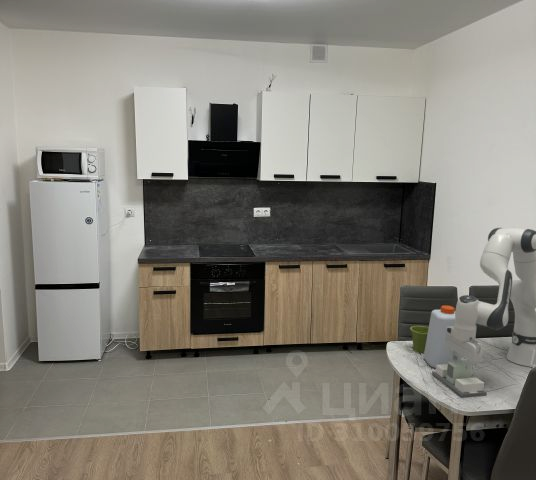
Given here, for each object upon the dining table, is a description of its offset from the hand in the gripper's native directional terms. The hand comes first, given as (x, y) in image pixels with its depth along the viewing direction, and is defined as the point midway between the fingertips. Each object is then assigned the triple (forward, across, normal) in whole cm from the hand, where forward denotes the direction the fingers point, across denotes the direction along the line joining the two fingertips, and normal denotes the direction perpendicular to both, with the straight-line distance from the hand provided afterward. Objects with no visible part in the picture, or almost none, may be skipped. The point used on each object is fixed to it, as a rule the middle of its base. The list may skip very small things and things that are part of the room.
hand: (461, 364), depth 203 cm
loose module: (+8, 0, 0) cm, 8 cm away
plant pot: (+10, +37, -4) cm, 38 cm away
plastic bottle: (+10, +21, -6) cm, 24 cm away
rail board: (+9, 0, 0) cm, 9 cm away
